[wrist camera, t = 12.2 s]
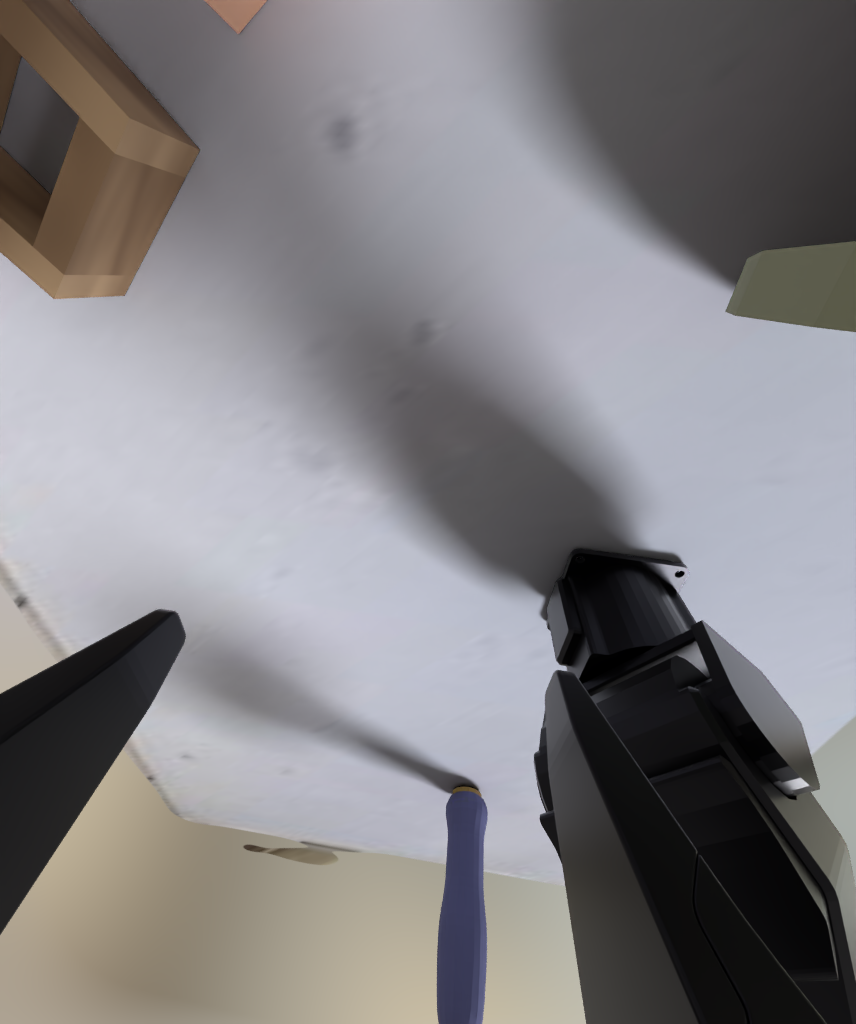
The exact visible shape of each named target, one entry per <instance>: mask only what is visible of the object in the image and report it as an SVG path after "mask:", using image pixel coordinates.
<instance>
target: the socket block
mask: <svg viewBox="0 0 856 1024" xmlns="http://www.w3.org/2000/svg"><path fill="white" fill-rule="evenodd" d="M204 1H205V2H206V3H207V4H208V5H209V6H210V7H211V8H212V9H213V10H214V11H215V12H216V13H217V14H218V15H219V16H220V17H221V18H222V19H223V20H224V21H225V22H226V23H227V24H228V25H229V26H230V27H231V28H232V29H233V30H234V31H235V32H236V33H237V34H239V33H240V32H241V31H242V30H243V29H244V27H245V26H246V25H247V24H248V23H249V21H250V20H251V19H252V18H253V17H254V15H255V14H256V13H257V12H258V11H259V10H260V8H261V7H262V6H263V5H264V4H265V2H266V1H267V0H204Z"/></svg>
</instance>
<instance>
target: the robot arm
mask: <svg viewBox="0 0 856 1024" xmlns="http://www.w3.org/2000/svg"><path fill="white" fill-rule="evenodd" d="M580 556H582V558H581V559H576V558H577V557H580ZM677 571H680V572H678V573H676V572H677ZM689 573H690V572H689V570H688V568H687V567H686V565H684V564H683V563H679V562H672V561H665V560H658V559H650V558H643V557H636V556H629V555H622V554H615V553H608V552H601V551H593V550H586V549H576V550H574V551H572V552H571V554H570V556H569V559H568V562H567V565H566V567H565V570H564V573H563V576H562V578H560V579H558V580H557V581H556V583H555V586H554V589H553V592H552V595H551V598H550V601H549V604H548V607H547V615H548V618H547V628H548V629H549V630H550V631H551V636H552V641H553V647H554V652H555V657H556V661H557V662H558V663H559V665H564V666H566V667H567V671H561V670H556V671H555V672H554V673H553V676H552V678H551V680H550V683H549V685H548V688H547V690H546V694H545V714H544V721H543V727H542V728H541V736H540V746H539V751H538V752H536V753H535V754H534V766H535V772H536V779H537V785H538V789H539V793H540V797H541V800H542V803H543V806H544V808H545V811H546V813H543V814H541V815H540V822H541V824H542V826H543V828H544V830H545V831H546V833H547V835H548V837H549V838H550V840H551V842H552V843H553V845H554V847H555V849H556V851H557V853H558V856H559V858H560V860H561V863H562V866H563V873H564V879H565V886H566V893H567V899H568V906H569V912H570V919H571V925H572V932H573V938H574V945H575V951H576V958H577V965H578V971H579V978H580V985H581V992H582V998H583V1005H584V1011H585V1018H586V1024H856V887H855V883H854V877H853V871H852V866H851V861H850V856H849V851H848V848H847V845H846V843H845V841H844V839H843V838H842V836H841V834H840V833H839V831H838V830H837V829H836V827H835V826H834V824H833V823H832V822H831V820H830V819H829V817H828V816H827V815H826V813H825V812H824V810H823V809H822V807H821V806H820V805H819V803H818V802H817V800H816V799H815V797H814V796H813V795H812V793H811V791H815V790H819V789H820V786H819V781H818V778H817V774H816V771H815V768H814V764H813V761H812V757H811V754H810V751H809V747H808V744H807V741H806V737H805V734H804V730H803V727H802V724H801V722H800V720H799V719H798V718H797V716H796V715H795V714H794V712H793V711H792V710H791V709H790V707H789V706H788V705H787V703H786V702H785V701H784V700H783V698H782V697H781V696H780V694H779V693H778V692H777V691H776V689H775V688H774V687H773V685H772V684H771V683H770V682H769V680H768V679H767V678H766V676H765V675H764V674H763V673H762V672H761V671H760V670H759V669H758V668H757V667H756V666H754V665H753V664H752V663H751V662H750V661H749V660H748V659H746V658H745V657H744V656H743V655H742V654H741V653H740V652H738V651H737V650H736V649H735V648H734V647H733V646H732V645H730V644H729V643H728V642H727V641H726V640H725V639H724V638H722V637H721V636H720V635H719V634H718V633H717V632H716V631H714V630H713V629H712V628H711V627H710V626H709V625H708V624H706V623H705V622H704V621H703V620H702V621H700V622H698V623H696V621H695V620H694V618H693V616H692V615H691V613H690V612H689V610H688V608H687V607H686V605H685V603H684V602H683V600H682V599H681V597H680V595H679V594H678V593H679V592H680V590H681V588H682V586H683V585H684V583H685V581H686V579H687V578H688V576H689ZM185 637H186V634H185V630H184V628H183V625H182V622H181V620H180V617H179V615H178V613H177V612H175V611H171V610H164V609H158V610H155V611H153V612H151V613H149V614H148V615H146V616H144V617H142V618H140V619H138V620H136V621H135V622H133V623H131V624H129V625H127V626H125V627H123V628H122V629H120V630H118V631H116V632H114V633H112V634H110V635H109V636H107V637H105V638H103V639H101V640H99V641H97V642H96V643H94V644H92V645H90V646H88V647H86V648H84V649H83V650H81V651H79V652H77V653H75V654H73V655H71V656H70V657H68V658H66V659H64V660H62V661H60V662H58V663H57V664H55V665H53V666H51V667H49V668H47V669H45V670H44V671H42V672H40V673H38V674H37V675H34V676H33V677H31V678H29V679H27V680H25V681H23V682H21V683H19V684H18V685H16V686H14V687H12V688H10V689H9V690H6V691H5V692H3V693H1V694H0V935H1V933H2V932H3V930H4V929H5V927H6V925H7V924H8V922H9V921H10V919H11V918H12V916H13V915H14V913H15V912H16V910H17V909H18V907H19V906H20V904H21V903H22V901H23V900H24V898H25V897H26V895H27V893H28V892H29V890H30V889H31V887H32V886H33V884H34V883H35V881H36V880H37V878H38V877H39V875H40V873H41V872H42V871H43V869H44V868H45V866H46V865H47V863H48V861H49V860H50V858H51V857H52V855H53V854H54V852H55V851H56V849H57V848H58V846H59V845H60V843H61V842H62V840H63V839H64V837H65V836H66V834H67V833H68V831H69V829H70V828H71V826H72V825H73V823H74V822H75V820H76V819H77V817H78V816H79V814H80V813H81V811H82V810H83V808H84V806H85V805H86V804H87V802H88V801H89V799H90V797H91V796H92V794H93V793H94V791H95V790H96V788H97V787H98V785H99V784H100V782H101V781H102V779H103V778H104V776H105V775H106V773H107V772H108V770H109V769H110V767H111V765H112V764H113V762H114V761H115V759H116V758H117V756H118V755H119V753H120V752H121V750H122V749H123V747H124V746H125V744H126V743H127V741H128V740H129V738H130V737H131V735H132V734H133V732H134V731H135V729H136V727H137V726H138V724H139V723H140V721H141V720H142V718H143V717H144V715H145V714H146V712H147V710H148V709H149V707H150V706H151V704H152V702H153V700H154V699H155V697H156V695H157V693H158V691H159V690H160V688H161V686H162V684H163V682H164V680H165V678H166V676H167V675H168V673H169V671H170V669H171V667H172V665H173V663H174V661H175V660H176V658H177V656H178V654H179V652H180V650H181V648H182V646H183V644H184V642H185Z"/></svg>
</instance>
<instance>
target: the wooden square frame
mask: <svg viewBox="0 0 856 1024" xmlns="http://www.w3.org/2000/svg"><path fill="white" fill-rule="evenodd" d="M21 56H22V57H23V58H24V59H25V60H26V61H27V62H28V63H29V64H30V65H31V66H32V67H33V68H34V69H35V70H36V72H37V73H38V74H39V75H40V76H41V77H42V78H43V79H44V80H45V81H46V82H47V83H48V84H49V85H50V86H51V87H52V88H53V89H54V90H55V91H56V93H57V94H58V95H59V96H60V97H61V98H62V99H63V100H64V101H65V102H66V103H67V104H68V105H69V106H70V107H71V108H72V109H73V110H74V111H75V112H76V114H77V115H78V116H79V120H78V123H77V126H76V128H75V131H74V134H73V137H72V140H71V142H70V145H69V148H68V151H67V153H66V156H65V159H64V162H63V165H62V167H61V170H60V173H59V176H58V179H57V181H56V184H55V187H54V190H53V192H52V195H50V194H49V193H48V192H47V191H46V190H45V189H44V188H43V187H42V186H41V185H40V184H39V183H38V182H37V181H36V180H35V179H34V178H33V177H32V176H31V175H30V174H29V173H28V172H26V171H25V170H24V169H23V168H22V167H21V166H20V165H19V164H18V163H17V162H16V161H15V160H14V159H13V158H12V157H11V156H10V155H9V154H8V153H7V152H6V151H5V150H4V149H3V148H2V147H0V252H1V253H2V254H3V255H4V256H5V257H7V258H8V259H9V260H10V261H11V262H12V263H13V264H15V265H16V266H17V267H18V268H19V269H20V270H21V271H23V272H24V273H25V274H26V275H27V276H28V277H29V278H31V279H32V280H33V281H34V282H35V283H36V284H37V285H39V286H40V287H41V288H42V289H43V290H44V291H45V292H47V293H48V294H49V295H50V296H51V297H52V298H53V299H64V298H85V297H106V296H125V294H126V292H127V290H128V288H129V286H130V284H131V282H132V280H133V278H134V276H135V274H136V272H137V270H138V269H139V267H140V265H141V263H142V261H143V259H144V257H145V255H146V253H147V251H148V249H149V247H150V245H151V243H152V242H153V240H154V238H155V236H156V234H157V232H158V230H159V228H160V226H161V224H162V222H163V220H164V218H165V216H166V214H167V213H168V211H169V209H170V207H171V205H172V203H173V201H174V199H175V197H176V195H177V193H178V191H179V189H180V187H181V186H182V184H183V182H184V180H185V178H186V176H187V174H188V172H189V170H190V168H191V166H192V164H193V162H194V160H195V159H196V157H197V155H198V153H199V151H200V150H199V148H198V147H197V146H196V145H195V144H194V143H193V142H192V140H191V139H190V138H189V137H188V136H187V135H186V134H185V132H184V131H183V130H182V129H181V128H180V127H179V126H178V124H177V123H176V122H175V121H174V120H173V119H172V118H171V116H170V115H169V114H168V113H167V112H166V111H165V110H164V108H163V107H162V106H161V105H160V104H159V103H158V102H157V100H156V99H155V98H154V97H153V96H152V95H151V94H150V92H149V91H148V90H147V89H146V88H145V87H144V86H143V85H142V83H141V82H140V81H139V80H138V79H137V78H136V77H135V75H134V74H133V73H132V72H131V71H130V70H129V69H128V67H127V66H126V65H125V64H124V63H123V62H122V61H121V59H120V58H119V57H118V56H117V55H116V54H115V53H114V51H113V50H112V49H111V48H110V47H109V46H108V45H107V43H106V42H105V41H104V40H103V39H102V38H101V37H100V35H99V34H98V33H97V32H96V31H95V30H94V29H93V27H92V26H91V25H90V24H89V23H88V22H87V21H86V20H85V18H84V17H83V16H82V15H81V14H80V13H79V12H78V10H77V9H76V8H75V7H74V6H73V5H72V4H71V2H70V1H69V0H0V132H1V128H2V125H3V121H4V117H5V114H6V110H7V106H8V103H9V99H10V95H11V92H12V88H13V84H14V81H15V77H16V74H17V70H18V66H19V63H20V59H21Z"/></svg>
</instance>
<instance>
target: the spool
mask: <svg viewBox="0 0 856 1024" xmlns="http://www.w3.org/2000/svg"><path fill="white" fill-rule="evenodd" d="M725 312H728V313H730V314H733V315H735V316H742V317H748V318H755V319H762V320H769V321H776V322H782V323H789V324H796V325H803V326H810V327H817V328H826V329H834V330H843V331H851V332H856V241H852V242H842V243H832V244H822V245H812V246H802V247H792V248H783V249H773V250H763V251H761V252H759V253H757V254H755V255H753V256H751V257H749V258H747V261H746V263H745V266H744V268H743V270H742V273H741V275H740V278H739V280H738V282H737V285H736V287H735V290H734V292H733V295H732V297H731V299H730V302H729V304H728V307H727V309H726V311H725Z"/></svg>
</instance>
